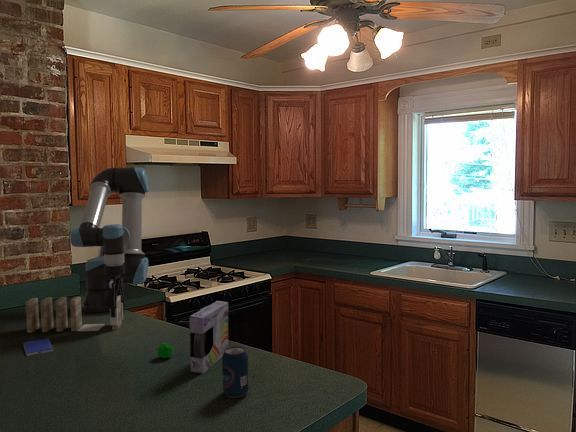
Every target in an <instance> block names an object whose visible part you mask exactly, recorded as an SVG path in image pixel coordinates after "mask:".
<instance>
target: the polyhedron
mask: <svg viewBox="0 0 576 432" xmlns="http://www.w3.org/2000/svg"><path fill="white" fill-rule="evenodd" d="M173 351H174V348H173V346H172V345H171V344H169V343H167V342H162V343H161V344H160V345H159V346H158V347H157V349H156V354H157V356H158V357H159V358H161V359H163V360H165V359H168V358H170V357H171V356H172V355H173Z"/></svg>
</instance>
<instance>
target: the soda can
mask: <svg viewBox="0 0 576 432" xmlns="http://www.w3.org/2000/svg"><path fill="white" fill-rule="evenodd" d="M221 360H222V361H221V363H222V368H221V369H222V391H223V393H224V394H225V395H226V397H228V398H232V399H233V398H234V399H236V398H241V397H244V396H246V395H247V393H248V391H249V389H250V387H249V384H250V383H249V381H250V380H249V355H248V353H247V349H246V348H245V347H242V346H230V347H229V346H228V348H227V349H225V350H224V354H223V356H222V358H221Z"/></svg>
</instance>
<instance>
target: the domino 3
mask: <svg viewBox="0 0 576 432" xmlns="http://www.w3.org/2000/svg"><path fill="white" fill-rule="evenodd" d="M54 304H55V321H56V322H55V323H56V332H63V331H64V330H66V329H67V328H68V327H69V323H68V322H69V321H68V302H67V296H61V297H59V298H57V299H56V300H55V301H54Z"/></svg>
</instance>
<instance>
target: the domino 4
mask: <svg viewBox="0 0 576 432" xmlns="http://www.w3.org/2000/svg"><path fill="white" fill-rule="evenodd" d="M69 309H70V311H69V312H70V328H71V329H70V330H71V331H72V332H78V331H77V330H79V329H80V328H81V327H82V326H83V318H82V317H83V316H82V298H81V296H74V297H72V298H71V299H69Z"/></svg>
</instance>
